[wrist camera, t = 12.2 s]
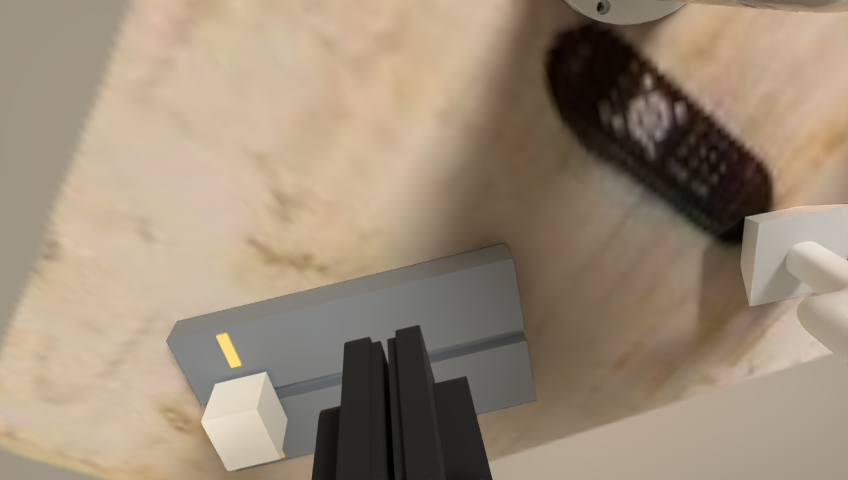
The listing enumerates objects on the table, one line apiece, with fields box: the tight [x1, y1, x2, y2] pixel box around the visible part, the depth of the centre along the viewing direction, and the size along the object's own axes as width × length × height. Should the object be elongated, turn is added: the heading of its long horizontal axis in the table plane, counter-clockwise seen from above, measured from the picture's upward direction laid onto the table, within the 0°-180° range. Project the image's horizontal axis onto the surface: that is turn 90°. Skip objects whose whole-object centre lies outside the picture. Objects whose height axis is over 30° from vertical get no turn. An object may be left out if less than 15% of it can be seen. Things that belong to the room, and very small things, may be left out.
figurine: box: [740, 204, 848, 364], centre depth 37 cm, size 7×9×15 cm
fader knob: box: [201, 372, 288, 471], centre depth 41 cm, size 4×5×5 cm
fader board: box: [166, 243, 536, 471], centre depth 43 cm, size 26×14×3 cm, turn 102°
